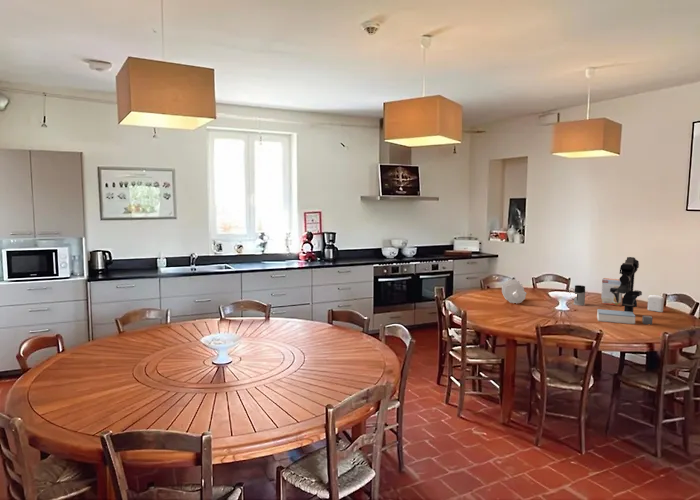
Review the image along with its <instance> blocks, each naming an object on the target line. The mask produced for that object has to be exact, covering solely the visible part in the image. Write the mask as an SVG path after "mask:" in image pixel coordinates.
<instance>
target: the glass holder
mask: <svg viewBox="0 0 700 500" xmlns="http://www.w3.org/2000/svg"><path fill="white" fill-rule="evenodd" d="M571 290H573V294H574V293H575V294H577V297H575V298H574V297H572V298H571V299H572V300H573V302H572V305H575V306H586V304H585V303H586V286H585V285H579V284H576V285H574V288H573V287H571V288H569V292H568V294H569V293H570V294H571Z"/></svg>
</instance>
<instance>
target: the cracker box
mask: <svg viewBox="0 0 700 500" xmlns="http://www.w3.org/2000/svg"><path fill="white" fill-rule="evenodd" d="M619 279H620V278H619ZM619 279H617V278H606V277H604V278H602V282H601V298H600V299H601V302H600V304H601V305H608V306H609V305H610V306H615V307H616V306H617V307H621V306H622V298H623V294H622V293H619V302H618V303H617V300H616V297H615V295H614V294H613V293H612V292H610V288H613V287H615V288H618V287H619V286H620V284H621V282H620V280H619Z"/></svg>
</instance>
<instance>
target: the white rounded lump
mask: <svg viewBox="0 0 700 500" xmlns="http://www.w3.org/2000/svg"><path fill="white" fill-rule="evenodd" d="M501 293H502V296H503V297H504V299H505V300H506V301H507V302H509V304H514V303H516V304H520V303H523V301H524V300H526V296H527V294H528V293H527V292H526V291H525V288H524V286H523V284H522V283H521V282H520V281H519V280H517V279H515V278H513V279H510V278H509V279H507V280H506V281H503V284H502V286H501Z"/></svg>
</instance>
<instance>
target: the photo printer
mask: <svg viewBox="0 0 700 500" xmlns="http://www.w3.org/2000/svg"><path fill="white" fill-rule="evenodd" d="M664 301H665V299H664V297H663V296H661V295H658V294H650V295H648V297H647V311H652V312H658V313H664V304H665V303H664Z"/></svg>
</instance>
